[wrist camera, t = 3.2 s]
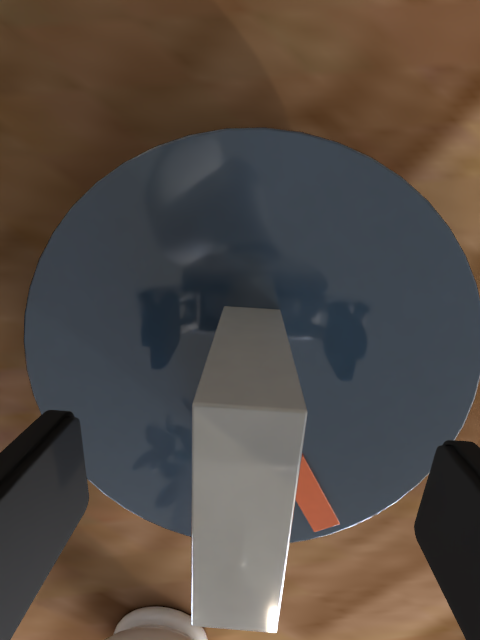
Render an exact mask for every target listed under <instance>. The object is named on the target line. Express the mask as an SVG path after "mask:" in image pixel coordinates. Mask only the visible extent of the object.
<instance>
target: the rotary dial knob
mask: <svg viewBox="0 0 480 640" xmlns="http://www.w3.org/2000/svg"><path fill="white" fill-rule="evenodd" d="M24 349H25V358H26V367H27V372H28V376H29V380H30V384H31V388H32V392H33V395H34V397H35V400H36V402H37V405H38V407H39V410H40V412H41V415H42V414H43V413H44V412H46V411H47V410H60V411H70V412H72V413H73V414H74V417H76V418H78V419H79V420H80V426H81V434H82V443H83V451H84V459H85V468H86V476H87V479H88V480H89V481H90V482H91V483H92V484H93V485H95V486H96V487H97V488H98V489H99V490H100V491H101V492H103V493H104V494H105V495H107V496H108V497H109V498H111V499H112V500H114V501H115V502H116V503H118V504H119V505H121V506H122V507H123V508H125V509H127V510H129V511H131V512H132V513H134V514H136V515H138V516H139V517H141V518H143V519H145V520H147V521H149V522H152V523H154V524H156V525H159V526H161V527H163V528H165V529H168V530H171V531H174V532H177V533H180V534H183V535H186V536H190V537H191V624H192V626H199V627H210V628H222V629H234V630H246V631H257V632H269V633H276V632H277V628H278V621H279V614H280V607H281V600H282V593H283V586H284V578H285V571H286V564H287V557H288V550H289V543H293V542H299V541H306V540H310V539H314V538H318V537H322V536H326V535H330V534H333V533H336V532H338V531H341V530H344V529H346V528H349V527H352V526H354V525H356V524H359V523H361V522H363V521H365V520H367V519H369V518H371V517H373V516H375V515H377V514H378V513H380V512H381V511H383V510H385V509H386V508H388V507H389V506H391V505H392V504H394V503H396V502H397V501H399V500H400V499H401V498H402V497H404V496H405V495H406V494H407V493H409V492H410V491H411V490H412V489H413V488H415V487H416V486H417V485H418V484H419V483H420V482H421V481H422V480H423V479H424V478H425V477H426V476H427V475H428V474H429V473H430V469H431V466H432V462H433V459H434V456H435V452H436V449H437V447H438V446H441V445H443V443H444V442H445V441H447V440H454V441H455V439H456V437H457V436H458V434H459V432H460V430H461V429H462V427H463V425H464V424H465V421H466V419H467V416H468V414H469V411H470V409H471V407H472V404H473V402H474V399H475V396H476V392H477V388H478V384H479V380H480V298H479V293H478V288H477V284H476V281H475V279H474V276H473V274H472V271H471V268H470V266H469V263H468V260H467V258H466V255H465V254H464V252H463V250H462V248H461V247H460V245H459V243H458V241H457V240H456V238H455V236H454V234H453V233H452V231H451V229H450V228H449V226H448V225H447V224H446V222H445V221H444V220H443V219H442V217H441V216H440V215H439V214H438V212H437V211H436V210H435V209H434V208H433V206H432V205H431V204H430V203H429V201H428V200H427V199H426V198H424V197H423V196H422V195H421V194H420V193H419V192H418V191H417V190H416V189H414V188H413V187H412V186H411V185H410V184H409V183H408V182H407V181H406V180H404V179H403V178H402V177H401V176H399V175H398V174H396V173H395V172H393V171H392V170H390V169H389V168H387V167H386V166H384V165H383V164H381V163H379V162H378V161H376V160H375V159H373V158H372V157H370V156H368V155H365V154H363V153H361V152H359V151H356V150H354V149H352V148H350V147H348V146H345V145H343V144H341V143H339V142H336V141H332V140H329V139H325V138H322V137H318V136H314V135H311V134H307V133H304V132H298V131H290V130H282V129H274V128H266V127H256V128H225V129H219V130H214V131H208V132H202V133H197V134H191V135H187V136H185V137H182V138H179V139H176V140H173V141H170V142H167V143H164V144H161V145H158V146H155V147H153V148H151V149H149V150H147V151H145V152H143V153H141V154H139V155H137V156H136V157H134V158H132V159H130V160H128V161H126V162H124V163H122V164H121V165H120V166H118V167H117V168H116V169H114V170H113V171H111V172H110V173H109V174H107V175H106V176H105V177H103V178H102V179H100V180H99V181H98V182H96V183H95V184H94V185H93V186H92V187H91V188H90V189H89V190H88V191H87V192H86V193H85V194H84V195H83V196H82V197H81V198H80V199H79V200H78V201H77V202H76V203H75V204H74V205H73V206H72V207H71V209H70V210H69V211H68V213H67V214H66V215H65V217H64V218H63V220H62V221H61V222H60V224H59V225H58V226H57V228H56V229H55V230H54V232H53V234H52V235H51V237H50V239H49V241H48V243H47V245H46V247H45V249H44V251H43V253H42V255H41V256H40V258H39V261H38V264H37V267H36V270H35V273H34V276H33V278H32V281H31V284H30V288H29V293H28V299H27V304H26V310H25V319H24Z"/></svg>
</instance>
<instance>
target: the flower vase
mask: <svg viewBox="0 0 480 640" xmlns="http://www.w3.org/2000/svg"><path fill="white" fill-rule="evenodd" d="M105 640H208V639H207V636H206V632H205V630H204V629H203V628H202V627H199V626H192V624H191V616H189V615H187V614H185V613H183V612H181V611H179V610H175V609H172V608H167V607H158V606H156V607H144V608H140V609H137V610H134V611H132V612H130V613H128V614H127V615H125V616H124V617H123V618H122V619H121V620H120V621H119V623H118V624H117V626H116V629H115V631H114V634H113V635H112V636H110V637H108V638H106V639H105Z"/></svg>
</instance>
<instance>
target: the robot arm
mask: <svg viewBox="0 0 480 640" xmlns="http://www.w3.org/2000/svg"><path fill="white" fill-rule="evenodd" d="M88 500H89V493H88V484H87V476H86V468H85V459H84V451H83V443H82V434H81V426H80V420H79V419H78V418H76V417H74V414H73V413H72V412H70V411H60V410H47V411H46V412H44V413H43V414H42V415H41V416H40V417H39V418H38V419H37V420H36V421H34V422H33V423H32V424H31V425H30V426H29V427H28V428H27V429H26V430H25V431H24V432H22V433H21V434H20V435H19V436H18V437H17V438H16V439H15V440H14V441H13V442H12V443H11V444H9V445H8V446H7V447H6V448H5V449H4V450H3V451H2V452H1V453H0V640H10V639H11V638H12V636H13V634H14V632H15V631H16V629H17V627H18V626H19V624H20V622H21V620H22V619H23V617H24V615H25V614H26V612H27V610H28V608H29V607H30V605H31V603H32V602H33V600H34V598H35V596H36V595H37V593H38V591H39V590H40V588H41V586H42V584H43V583H44V581H45V579H46V578H47V576H48V574H49V572H50V571H51V569H52V567H53V566H54V564H55V562H56V560H57V559H58V557H59V555H60V554H61V552H62V550H63V548H64V547H65V545H66V543H67V542H68V540H69V538H70V536H71V535H72V533H73V531H74V530H75V528H76V526H77V524H78V523H79V521H80V519H81V518H82V516H83V514H84V512H85V510H86V508H87V505H88ZM414 530H415V535H416V539H417V541H418V543H419V545H420V547H421V549H422V551H423V553H424V555H425V557H426V559H427V561H428V563H429V565H430V567H431V570H432V572H433V574H434V576H435V578H436V580H437V582H438V584H439V586H440V588H441V590H442V592H443V594H444V596H445V598H446V600H447V602H448V604H449V606H450V608H451V610H452V612H453V614H454V616H455V618H456V620H457V622H458V624H459V626H460V628H461V630H462V632H463V634H464V636H465V638H466V640H480V448H479V447H478V446H477V445H476V444H475V443H473V442H467V441H454V440H447V441H445V442H444V443H443V445H441V446H438V447H437V449H436V452H435V456H434V459H433V462H432V466H431V469H430V473H429V476H428V480H427V483H426V486H425V490H424V493H423V497H422V500H421V503H420V507H419V510H418V514H417V517H416V521H415V525H414Z"/></svg>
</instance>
